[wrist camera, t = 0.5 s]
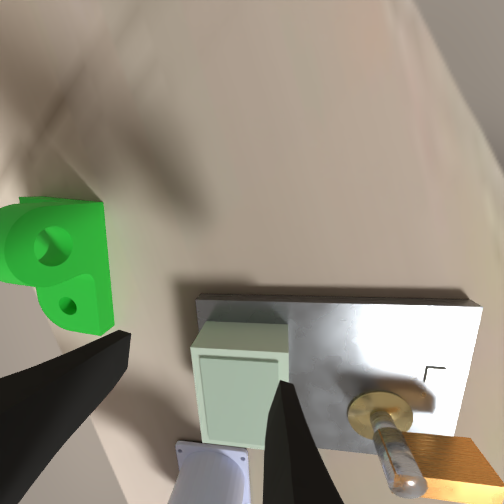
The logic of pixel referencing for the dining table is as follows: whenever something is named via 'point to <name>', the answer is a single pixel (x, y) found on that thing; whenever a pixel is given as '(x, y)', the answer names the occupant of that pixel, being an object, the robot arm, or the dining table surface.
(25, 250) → the mechanical part
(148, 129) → the dining table surface
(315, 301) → the latch plate
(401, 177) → the dining table surface
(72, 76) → the dining table surface
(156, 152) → the dining table surface
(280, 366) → the cover
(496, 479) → the t key
